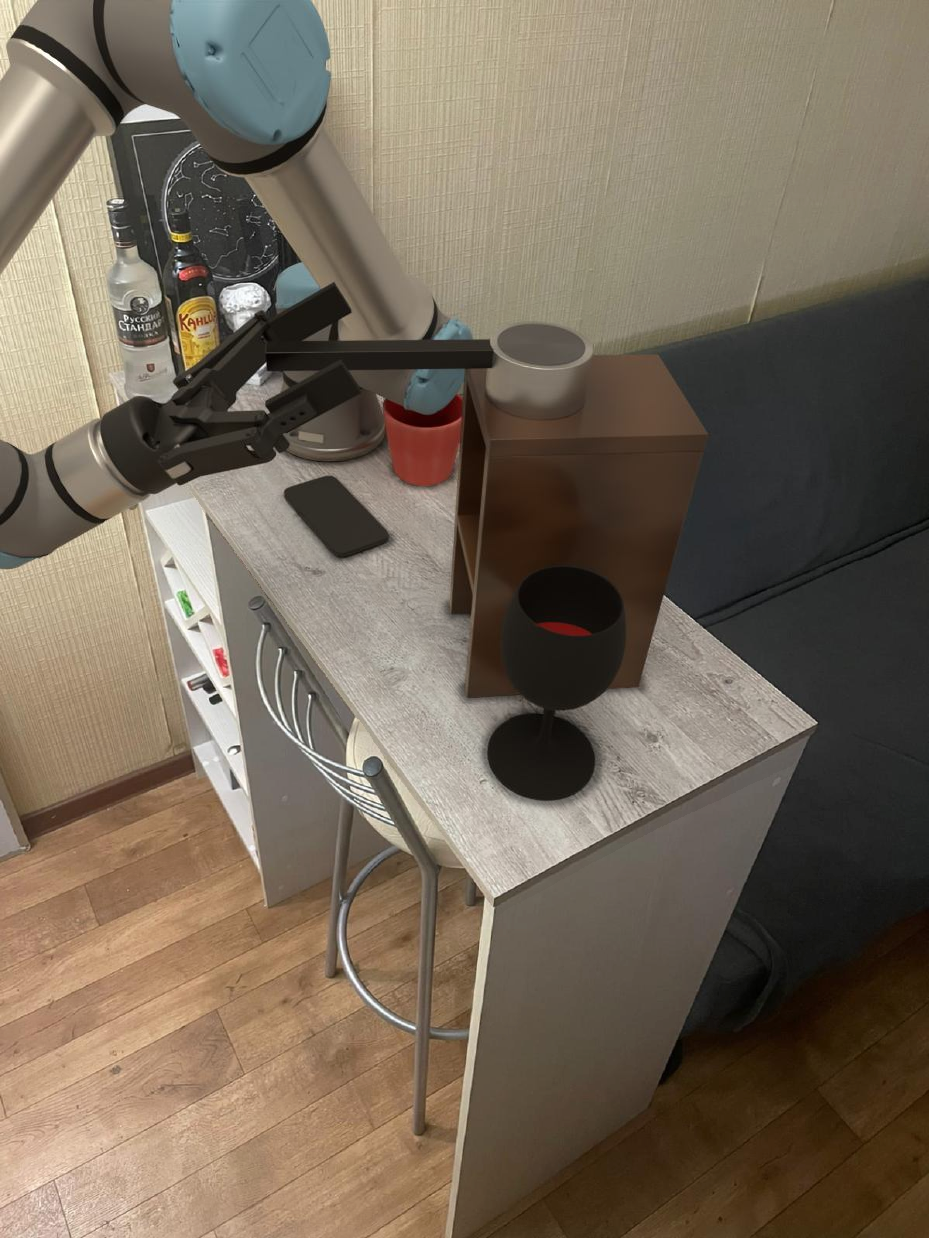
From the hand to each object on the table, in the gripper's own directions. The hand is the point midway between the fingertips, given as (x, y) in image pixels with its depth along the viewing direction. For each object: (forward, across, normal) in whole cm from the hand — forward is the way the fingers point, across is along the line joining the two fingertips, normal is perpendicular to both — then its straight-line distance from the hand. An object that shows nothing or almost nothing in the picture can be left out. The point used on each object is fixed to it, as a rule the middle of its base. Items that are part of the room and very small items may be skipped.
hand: (347, 333), depth 71 cm
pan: (+3, 0, -8) cm, 9 cm away
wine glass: (-3, +15, -39) cm, 42 cm away
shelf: (-1, 0, -41) cm, 41 cm away
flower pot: (-9, -34, -36) cm, 50 cm away
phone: (-19, -24, -30) cm, 43 cm away
